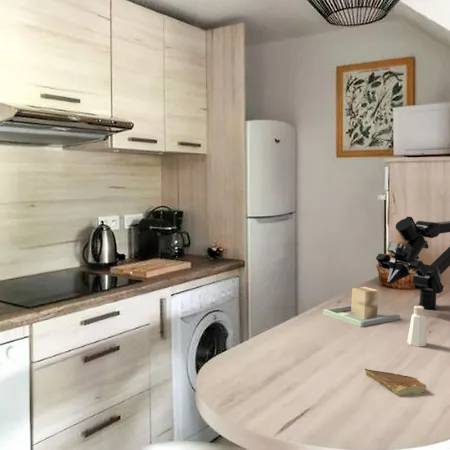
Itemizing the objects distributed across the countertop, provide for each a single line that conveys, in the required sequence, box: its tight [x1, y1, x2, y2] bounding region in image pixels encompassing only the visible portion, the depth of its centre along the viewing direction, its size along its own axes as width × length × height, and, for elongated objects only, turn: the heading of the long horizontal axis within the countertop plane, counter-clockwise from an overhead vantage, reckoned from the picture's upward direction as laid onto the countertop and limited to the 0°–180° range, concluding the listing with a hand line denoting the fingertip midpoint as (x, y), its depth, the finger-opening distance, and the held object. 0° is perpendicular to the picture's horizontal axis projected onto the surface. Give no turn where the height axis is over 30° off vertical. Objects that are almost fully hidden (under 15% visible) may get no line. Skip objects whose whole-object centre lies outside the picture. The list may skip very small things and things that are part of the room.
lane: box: [322, 304, 401, 328], centre depth 178 cm, size 18×17×3 cm
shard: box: [364, 368, 427, 397], centre depth 126 cm, size 13×9×2 cm
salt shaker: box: [406, 305, 428, 347], centre depth 154 cm, size 5×5×11 cm
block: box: [350, 286, 379, 319], centre depth 178 cm, size 6×6×9 cm
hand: (388, 283), depth 184 cm, fingers closed
